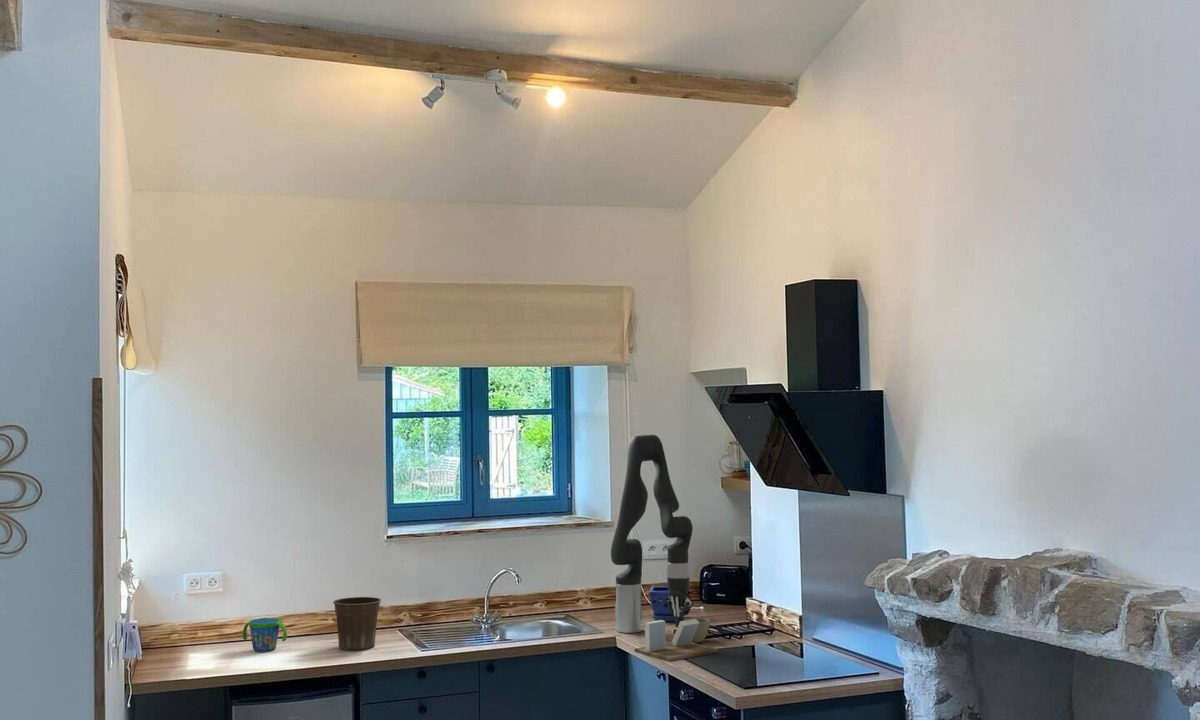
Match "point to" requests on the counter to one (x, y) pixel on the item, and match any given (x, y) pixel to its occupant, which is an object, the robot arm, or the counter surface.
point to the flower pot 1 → (660, 603)
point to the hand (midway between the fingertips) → (679, 627)
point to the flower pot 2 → (700, 629)
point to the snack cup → (264, 633)
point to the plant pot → (357, 622)
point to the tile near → (655, 635)
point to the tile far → (685, 632)
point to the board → (678, 651)
